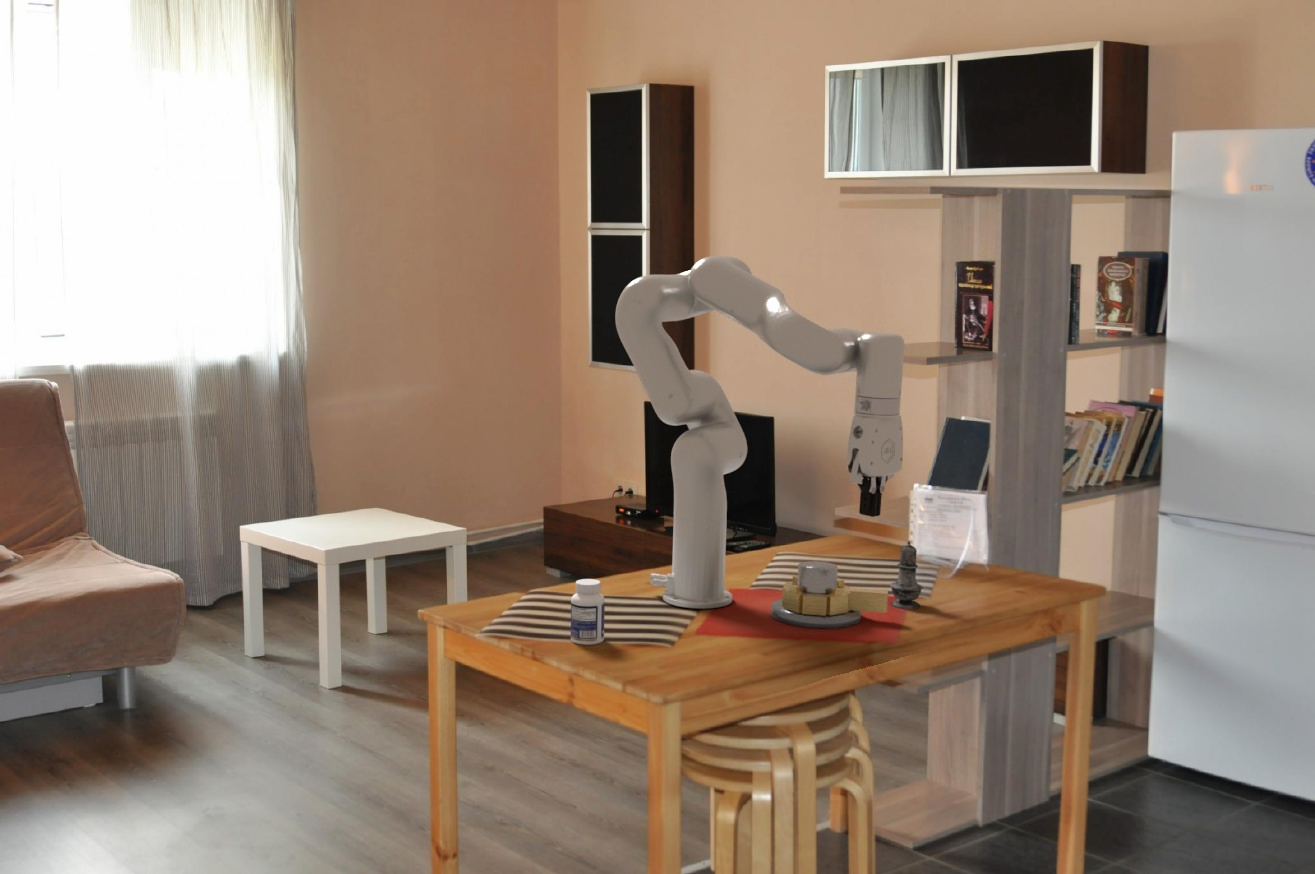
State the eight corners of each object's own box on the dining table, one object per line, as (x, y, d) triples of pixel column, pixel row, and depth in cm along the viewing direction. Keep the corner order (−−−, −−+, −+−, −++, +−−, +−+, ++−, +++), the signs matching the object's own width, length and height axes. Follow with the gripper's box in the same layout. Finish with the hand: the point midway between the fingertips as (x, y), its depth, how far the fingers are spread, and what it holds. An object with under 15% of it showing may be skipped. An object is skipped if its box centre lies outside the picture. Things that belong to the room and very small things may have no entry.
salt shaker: (921, 610, 238) (925, 545, 237) (888, 607, 239) (892, 542, 238) (922, 602, 244) (925, 538, 242) (889, 599, 245) (893, 536, 243)
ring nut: (780, 612, 227) (781, 588, 227) (785, 595, 239) (786, 572, 238) (886, 620, 224) (887, 596, 224) (887, 602, 236) (888, 579, 235)
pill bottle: (586, 634, 218) (587, 575, 216) (610, 640, 214) (612, 581, 213) (563, 640, 214) (564, 581, 212) (588, 647, 210) (589, 587, 209)
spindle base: (762, 622, 227) (764, 571, 226) (780, 600, 242) (782, 552, 241) (853, 632, 223) (856, 580, 222) (866, 609, 238) (869, 560, 236)
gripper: (868, 412, 213) (860, 524, 216) (921, 407, 224) (913, 514, 226) (831, 406, 219) (824, 516, 221) (885, 402, 229) (878, 506, 232)
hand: (869, 514), depth 224 cm, fingers closed
